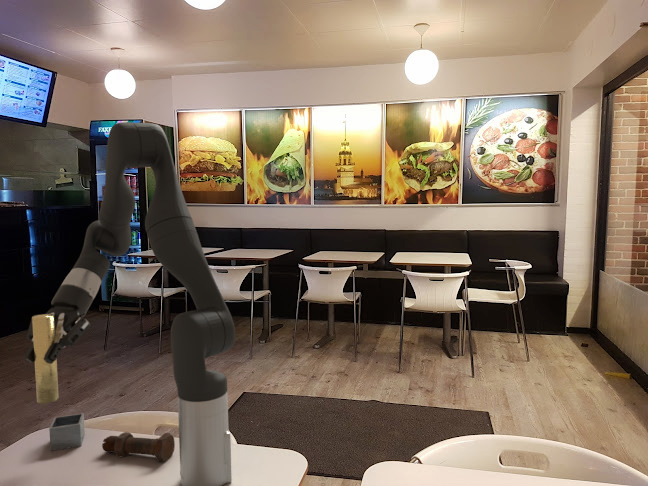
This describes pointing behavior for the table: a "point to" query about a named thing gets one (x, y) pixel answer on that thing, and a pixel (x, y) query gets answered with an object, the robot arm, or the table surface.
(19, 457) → the table surface
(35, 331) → the tall amber cylinder
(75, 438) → the open square box
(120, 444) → the bolt
